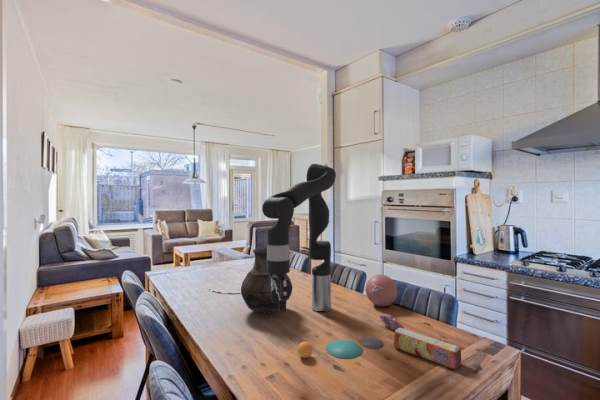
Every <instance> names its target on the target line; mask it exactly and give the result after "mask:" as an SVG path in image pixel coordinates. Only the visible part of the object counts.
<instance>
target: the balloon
mask: <svg viewBox="0 0 600 400" xmlns="http://www.w3.org/2000/svg"><path fill="white" fill-rule="evenodd" d="M364 289H365V294H366V297H367V299H368V301H370V302H371V303H372V304H373V305H375V306H378V307H387V306H390V305H391V304H393V303H394V301H395V300H396V298H397V295H398V288H397V285H396V283H395V282H394V280H393V279H392V278H391V277H389V276H387V275H384V274H375V275H373V276H371V277H370V278H369V279H368V280H367V281H366V285H365V288H364Z"/></svg>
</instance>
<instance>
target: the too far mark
mask: <svg viewBox="0 0 600 400" xmlns="http://www.w3.org/2000/svg"><path fill="white" fill-rule="evenodd" d="M361 345H362V346H364V347H366V348H369V349H380V348H382V347H383V346H384V345H385V344H384V342H383V341H382V340H381V339H379V338H377V337H376V338H375V337H365V338H363V339H362V340H361Z"/></svg>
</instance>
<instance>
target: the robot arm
mask: <svg viewBox="0 0 600 400" xmlns="http://www.w3.org/2000/svg"><path fill="white" fill-rule="evenodd" d="M306 171H307V172H306V181H301V182H297V183H295V184H294V185H292V186H290V187H288V188H287V189H286V190H284V191H281V192H278V193H276V194H273V195H271V196H269V197H267V199H265V200H264V202H263V203H262V207H261V208H262V209H261V210H262V213H263V215H264V216H265V217H266V218H268V219H273V220H274V219H276V220H277V222H276V225H272V226H269V228H268V229H267V247H266V248H267V272H268V273H269V274H270V283H269V288H270V289H271V292H272V303H273V304H276V303H278V302H279V309H278V311H279V313H285V312H286V311H287V301H288V300H289V299H290V297H289V281H288V280H286V279H285V274H289V273H290V271H291V258H290V257H291V252H290V251H291V250H290V229H291V225H292V221H293V217H294V212H295V209H296V208H297V207H299V206H300V205H302V203H304V202H306V201H307V200H308V228H309V230H308V231H309V233H308V234H309V237H308V256H309V259H310V260H312V261H323V262H322V263H321V264H317V265H316V266H313V267H312V268H311V309H312V310H313V311H314V310H315V311H314V312H317V311H326V312H329V311H331V310H330V309H332V297H331V296H332V281H331V279H332V278H331V276H332V275H331V274H332V273H331V271H332V270H331V258H332V256H331V255H332V244H331V242H330V241H328V240H318V238H320V236H321V235H322V234H323V233H324V232H325V230H326V229H327V228H328V227H329V224H330V210H329V206H328V204H327V202H326V201H325V199H324V197H323V196H322V194H321V193H323V192H326V191H327V190H329V189H330V188H332V187H333V185H334V183H335V181H336V176H337V173H336V170H335V169H334V167H333V168H332V167H331V166H327V165H323V164H319V163H311V164H310V165H309V166H308V168H307V170H306ZM283 293H284V296H283ZM278 297H279V299H278ZM287 299H288V300H287ZM286 300H287V301H286ZM328 310H329V311H328Z"/></svg>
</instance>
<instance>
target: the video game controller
mask: <svg viewBox="0 0 600 400" xmlns="http://www.w3.org/2000/svg"><path fill="white" fill-rule="evenodd" d="M379 318H380V321H381V322H383V324H385V326H386V327H387V328H388V329H389V328H390V329H391V331H394V332H395V331H396V329H398V328H403V329H405V327H404V326H403V325H402V324H401V323H399V321H398V320H397V319H396V318H395V317H393V316H392V315H391V314H387V313H382V314H381V315H379Z"/></svg>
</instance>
